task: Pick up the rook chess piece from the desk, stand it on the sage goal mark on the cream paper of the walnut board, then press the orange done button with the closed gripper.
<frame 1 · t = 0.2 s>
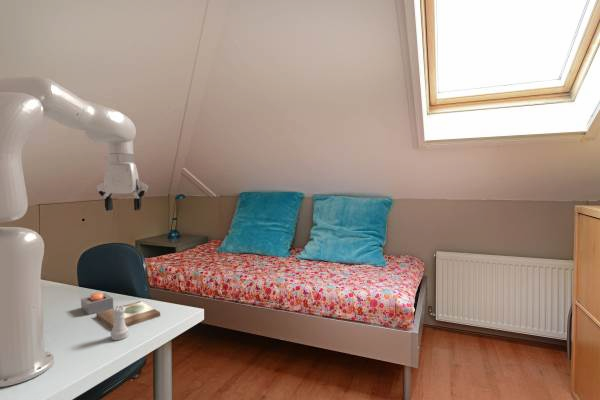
hand: (123, 210, 117), 31 cm above the table, tool pointing down, fingers open, 9 cm apart
done button: (96, 297, 110), point 4 cm above the table, slide at 0.0 cm
button base: (97, 308, 110), on the table
rook chess piece: (119, 337, 90), on the table
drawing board: (128, 316, 104), on the table
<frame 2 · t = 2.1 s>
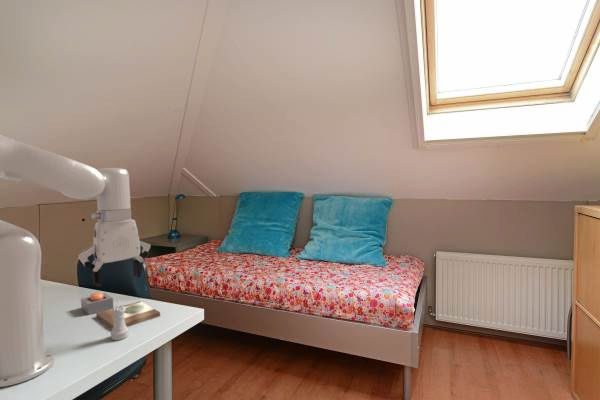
hand: (118, 280, 90), 15 cm above the table, tool pointing down, fingers open, 9 cm apart
nothing on the table moved.
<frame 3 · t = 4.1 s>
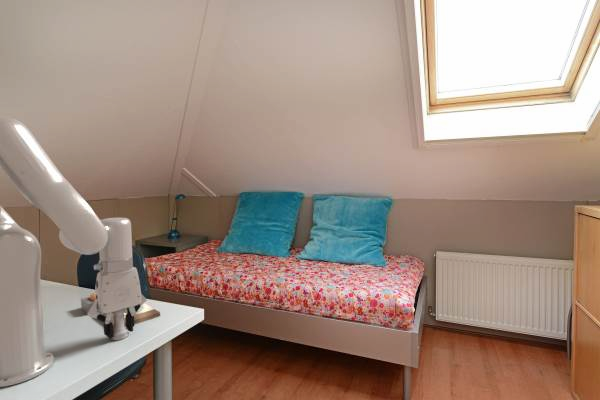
hand: (119, 332, 90), 1 cm above the table, tool pointing down, fingers closed on rook chess piece, 4 cm apart
rook chess piece: (119, 337, 90), on the table, touching gripper
everything else where it was.
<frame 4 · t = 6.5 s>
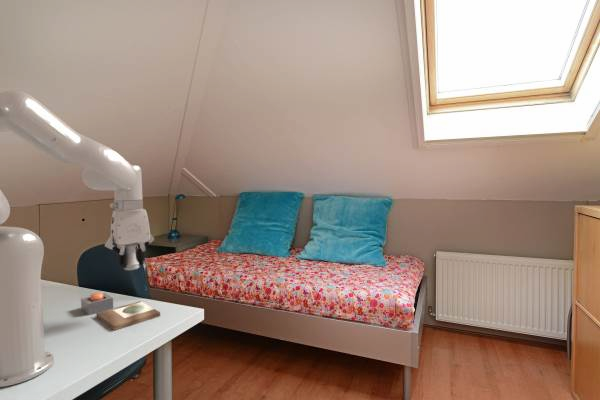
hand: (131, 264, 105), 15 cm above the table, tool pointing down, fingers closed on rook chess piece, 4 cm apart
rook chess piece: (131, 269, 105), point 14 cm above the table, touching gripper
everything else where it was.
when the fingers open (4 cm above the table, at t = 9.0 s): rook chess piece drops 1 cm, resting on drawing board.
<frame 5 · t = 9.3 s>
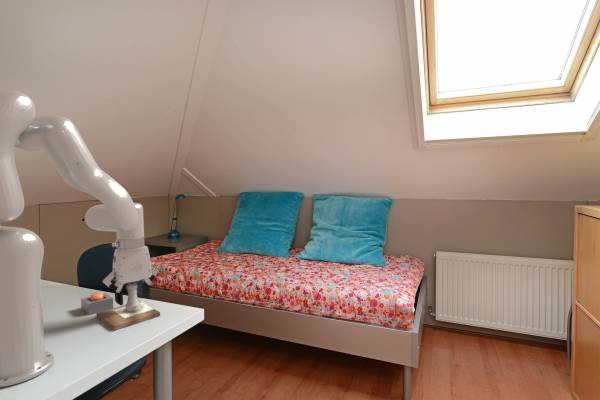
hand: (133, 300, 105), 4 cm above the table, tool pointing down, fingers open, 7 cm apart
rook chess piece: (133, 310, 105), point 1 cm above the table, touching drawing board
everything else where it was.
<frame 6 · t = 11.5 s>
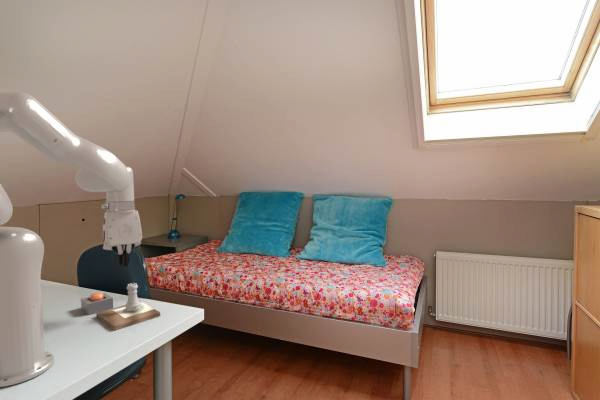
hand: (123, 265, 106), 15 cm above the table, tool pointing down, fingers closed
nothing on the table moved.
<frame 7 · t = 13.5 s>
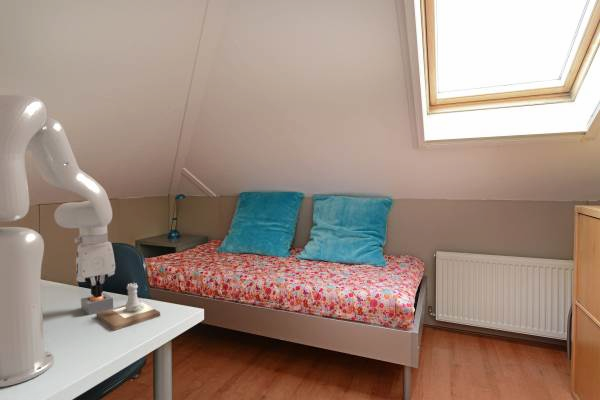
hand: (97, 295, 110), 4 cm above the table, tool pointing down, fingers closed
done button: (96, 299, 110), point 3 cm above the table, slide at 0.5 cm, touching gripper
everything else where it was.
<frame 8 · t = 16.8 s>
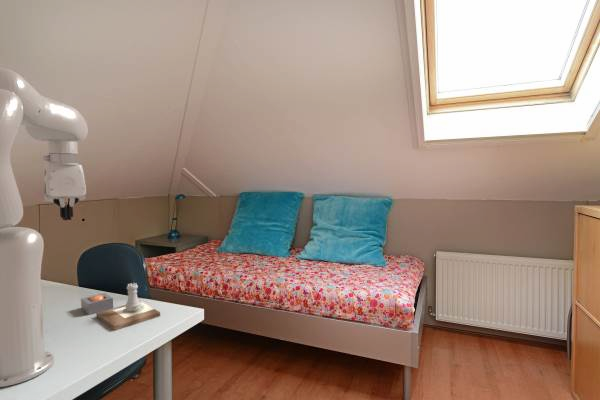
hand: (66, 219, 106), 29 cm above the table, tool pointing down, fingers closed
done button: (97, 300, 110), point 3 cm above the table, slide at 0.8 cm
everything else where it was.
at the end: rook chess piece 0.2 cm from the target spot on the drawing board, point 1.2 cm above the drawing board's base; rook chess piece tilted 0°; done button slide at 0.8 cm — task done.
